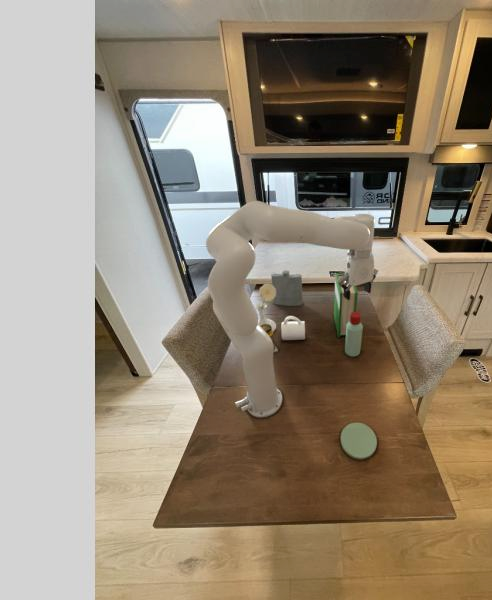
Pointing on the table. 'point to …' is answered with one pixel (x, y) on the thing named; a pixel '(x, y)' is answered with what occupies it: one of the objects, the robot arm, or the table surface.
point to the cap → (355, 318)
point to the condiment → (268, 330)
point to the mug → (293, 329)
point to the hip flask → (287, 289)
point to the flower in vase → (267, 295)
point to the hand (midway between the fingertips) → (357, 294)
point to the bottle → (353, 339)
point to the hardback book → (343, 306)
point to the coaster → (358, 440)
